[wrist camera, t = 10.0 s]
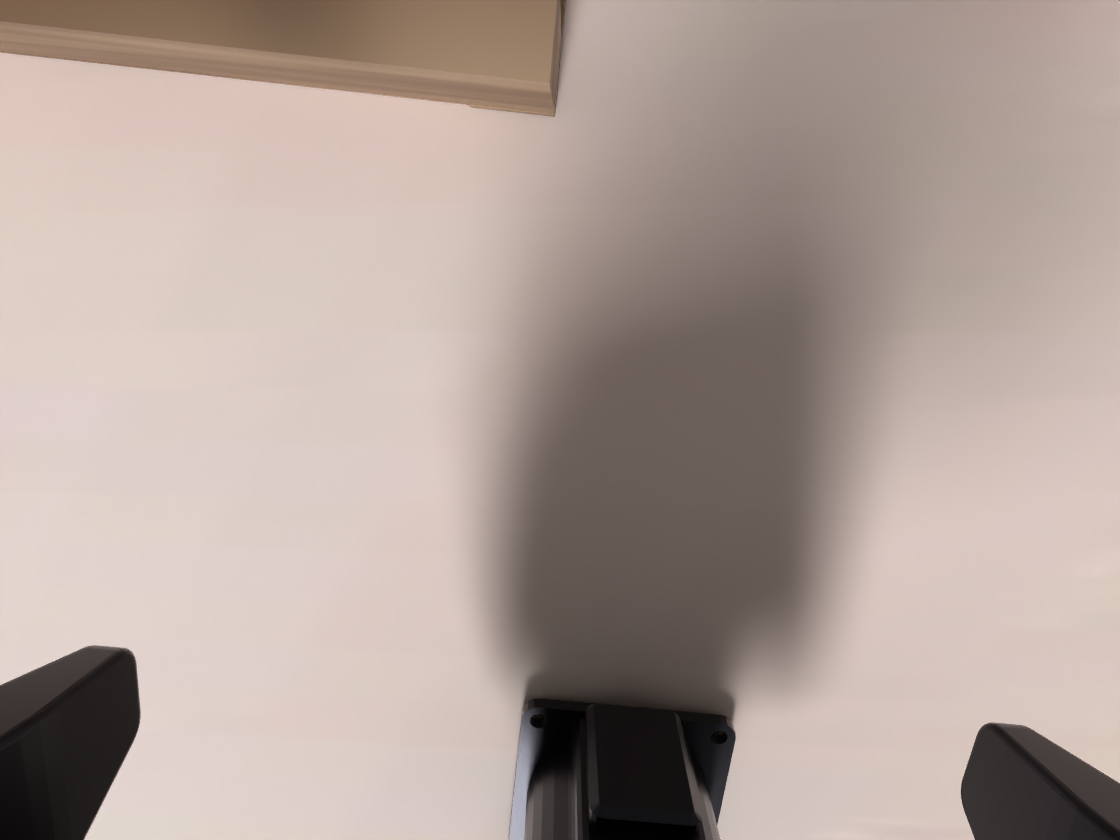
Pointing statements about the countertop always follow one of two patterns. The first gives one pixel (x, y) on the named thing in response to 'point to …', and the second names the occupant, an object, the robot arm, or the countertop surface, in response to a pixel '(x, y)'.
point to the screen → (315, 43)
